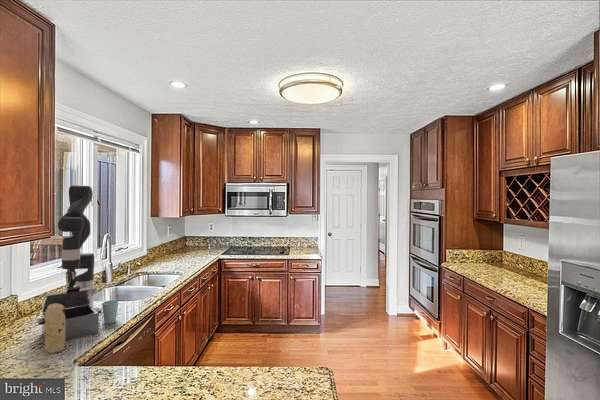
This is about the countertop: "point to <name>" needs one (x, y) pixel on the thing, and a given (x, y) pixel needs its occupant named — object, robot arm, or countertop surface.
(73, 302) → the lid
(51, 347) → the food model
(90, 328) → the cooker pot
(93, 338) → the countertop surface
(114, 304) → the cup
